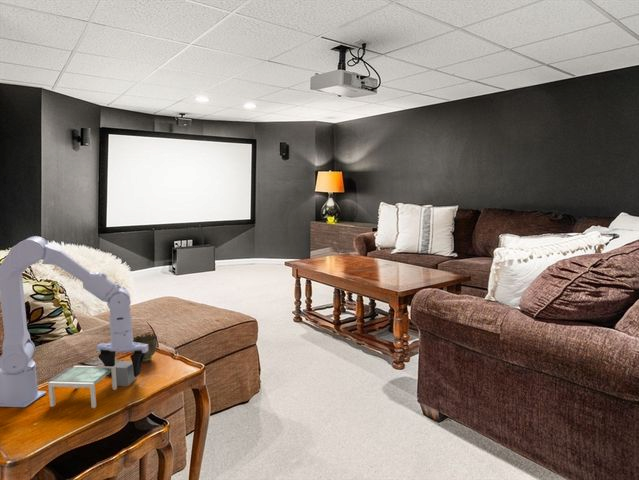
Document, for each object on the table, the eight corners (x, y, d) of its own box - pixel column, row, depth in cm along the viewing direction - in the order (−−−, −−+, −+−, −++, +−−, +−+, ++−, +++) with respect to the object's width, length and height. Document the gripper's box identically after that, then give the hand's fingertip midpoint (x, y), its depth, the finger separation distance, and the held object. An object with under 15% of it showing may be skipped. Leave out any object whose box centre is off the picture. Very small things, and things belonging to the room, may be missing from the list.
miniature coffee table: (50, 406, 110) (48, 382, 109) (76, 387, 120) (74, 365, 120) (94, 407, 109) (92, 384, 108) (117, 388, 119) (115, 366, 119)
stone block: (112, 385, 121) (111, 367, 121) (121, 378, 126) (120, 361, 125) (128, 386, 121) (126, 367, 120) (136, 378, 126) (135, 361, 125)
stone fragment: (125, 382, 125) (150, 368, 135) (125, 373, 125) (149, 360, 134) (64, 368, 134) (91, 356, 144) (64, 360, 134) (90, 348, 143)
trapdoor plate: (48, 386, 110) (47, 380, 110) (69, 372, 119) (68, 367, 119) (93, 387, 109) (93, 382, 109) (111, 373, 118) (111, 368, 118)
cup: (138, 356, 142) (137, 333, 141) (161, 356, 142) (159, 333, 141) (130, 365, 135) (128, 341, 134) (153, 365, 135) (152, 341, 134)
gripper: (152, 326, 125) (154, 369, 127) (105, 325, 126) (108, 368, 128) (140, 334, 118) (143, 380, 120) (90, 333, 119) (94, 379, 121)
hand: (124, 375), depth 123 cm, fingers open, 7 cm apart
